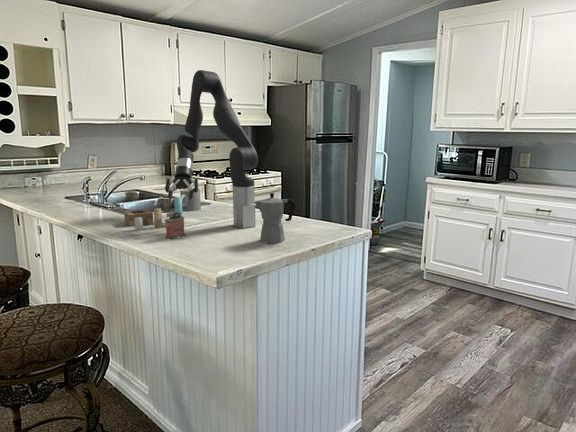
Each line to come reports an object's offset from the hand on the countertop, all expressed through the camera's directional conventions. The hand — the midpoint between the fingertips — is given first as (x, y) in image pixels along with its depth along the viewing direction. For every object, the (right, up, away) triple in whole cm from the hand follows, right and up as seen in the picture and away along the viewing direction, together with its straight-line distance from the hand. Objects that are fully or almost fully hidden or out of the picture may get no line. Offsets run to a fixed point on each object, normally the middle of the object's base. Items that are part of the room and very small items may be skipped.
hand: (180, 199), depth 189 cm
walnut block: (-19, -11, +1) cm, 21 cm away
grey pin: (-14, -13, -11) cm, 22 cm away
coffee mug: (-4, -4, +31) cm, 32 cm away
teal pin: (0, -11, -2) cm, 11 cm away
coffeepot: (+43, -17, -28) cm, 54 cm away
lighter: (+4, -16, -23) cm, 28 cm away
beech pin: (-7, -12, -7) cm, 16 cm away
